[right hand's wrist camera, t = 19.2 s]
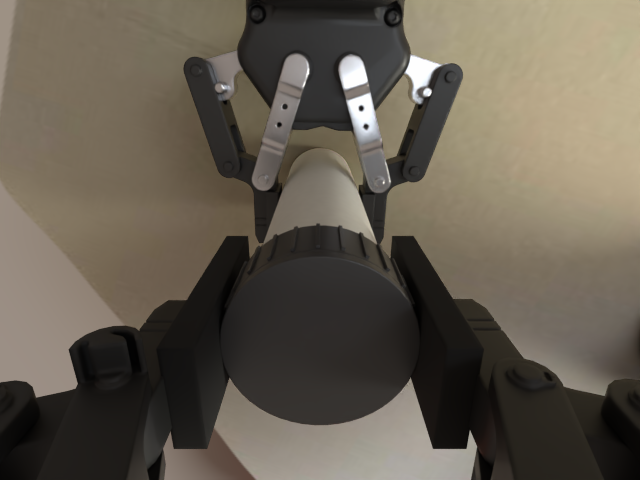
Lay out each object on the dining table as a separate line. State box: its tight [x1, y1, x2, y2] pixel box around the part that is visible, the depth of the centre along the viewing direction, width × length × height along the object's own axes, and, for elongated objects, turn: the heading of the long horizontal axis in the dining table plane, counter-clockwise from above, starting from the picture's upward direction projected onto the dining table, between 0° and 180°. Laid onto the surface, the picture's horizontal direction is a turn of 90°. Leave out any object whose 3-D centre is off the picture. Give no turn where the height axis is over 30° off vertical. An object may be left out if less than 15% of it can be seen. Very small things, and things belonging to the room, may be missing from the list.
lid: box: [220, 223, 420, 425], centre depth 11 cm, size 5×5×2 cm
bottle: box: [263, 148, 377, 245], centre depth 20 cm, size 5×5×19 cm
